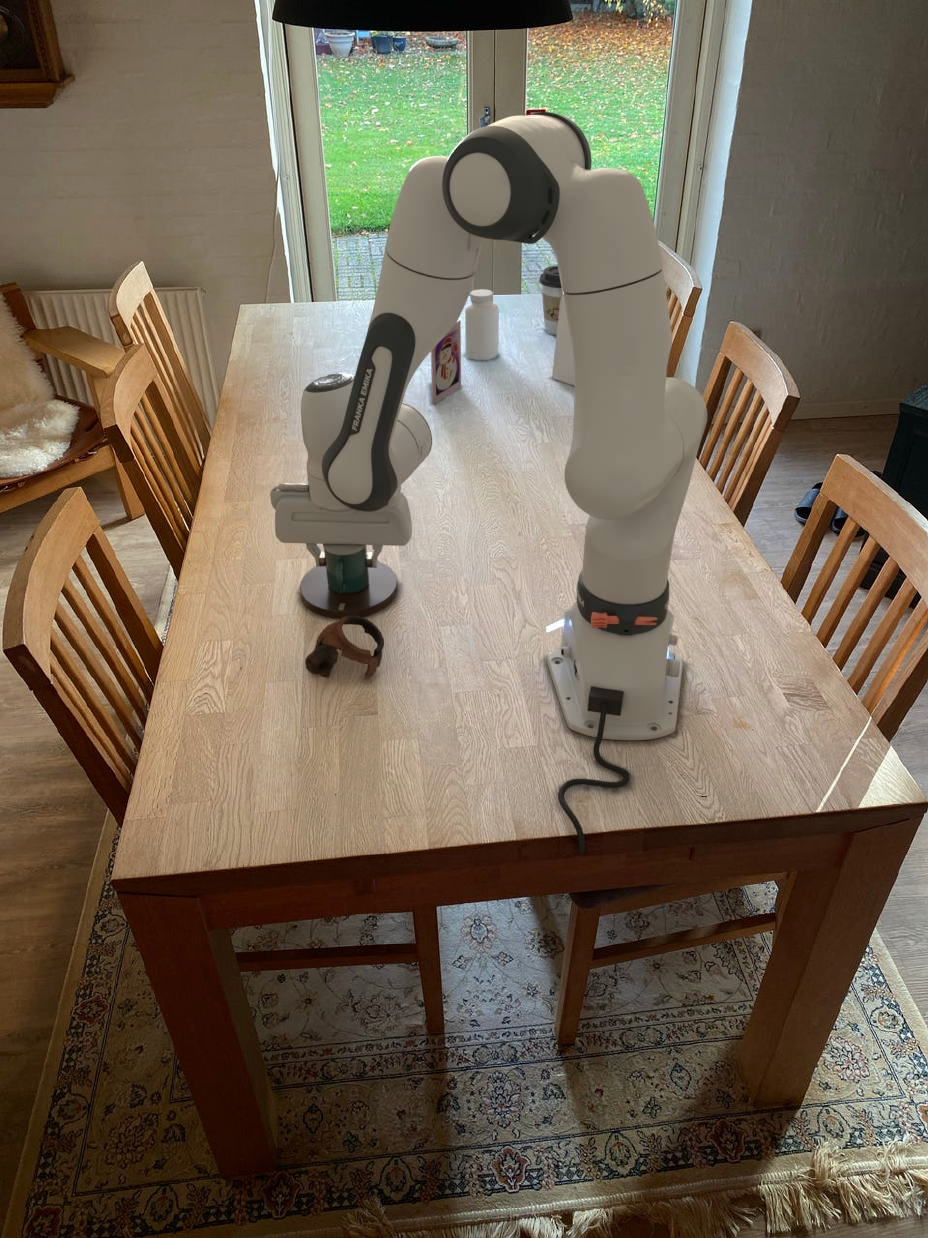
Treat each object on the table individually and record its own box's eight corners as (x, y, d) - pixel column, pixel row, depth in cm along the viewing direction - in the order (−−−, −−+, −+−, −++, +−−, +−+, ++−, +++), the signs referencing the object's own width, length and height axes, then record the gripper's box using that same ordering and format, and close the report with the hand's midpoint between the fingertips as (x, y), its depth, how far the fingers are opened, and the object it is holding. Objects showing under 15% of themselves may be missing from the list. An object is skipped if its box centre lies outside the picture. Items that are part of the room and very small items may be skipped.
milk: (551, 378, 214) (558, 261, 199) (581, 364, 221) (590, 249, 206) (594, 391, 208) (604, 271, 192) (624, 376, 214) (635, 259, 199)
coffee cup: (533, 336, 236) (535, 275, 227) (540, 321, 245) (543, 262, 236) (578, 339, 234) (582, 278, 225) (583, 324, 243) (588, 265, 234)
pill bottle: (461, 359, 224) (460, 296, 215) (470, 347, 230) (470, 285, 221) (493, 362, 222) (493, 299, 213) (501, 350, 228) (503, 288, 219)
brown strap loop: (333, 639, 137) (357, 601, 132) (376, 684, 135) (403, 647, 130) (277, 665, 127) (302, 625, 122) (324, 715, 125) (351, 676, 121)
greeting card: (436, 404, 203) (435, 336, 194) (408, 397, 206) (405, 330, 197) (464, 386, 210) (463, 320, 202) (436, 380, 214) (435, 314, 205)
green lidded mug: (319, 602, 141) (314, 559, 136) (331, 569, 148) (327, 527, 143) (363, 604, 140) (359, 561, 136) (373, 571, 147) (369, 529, 143)
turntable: (391, 621, 139) (390, 612, 139) (291, 617, 140) (290, 609, 139) (402, 565, 152) (402, 557, 151) (311, 563, 152) (310, 555, 151)
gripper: (263, 493, 133) (275, 574, 141) (406, 496, 132) (410, 578, 140) (273, 473, 138) (284, 552, 146) (411, 475, 137) (414, 555, 145)
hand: (347, 565), depth 143 cm, fingers closed on green lidded mug, 6 cm apart
